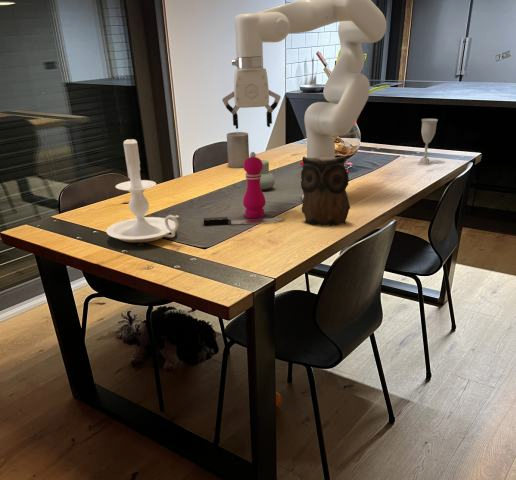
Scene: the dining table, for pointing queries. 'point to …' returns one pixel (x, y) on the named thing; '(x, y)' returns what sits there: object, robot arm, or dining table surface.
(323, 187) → the owl
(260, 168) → the pepper mill
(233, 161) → the pillar candle
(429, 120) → the chalice
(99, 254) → the dining table surface
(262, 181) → the air freshener
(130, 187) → the candlestick
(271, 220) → the knife
